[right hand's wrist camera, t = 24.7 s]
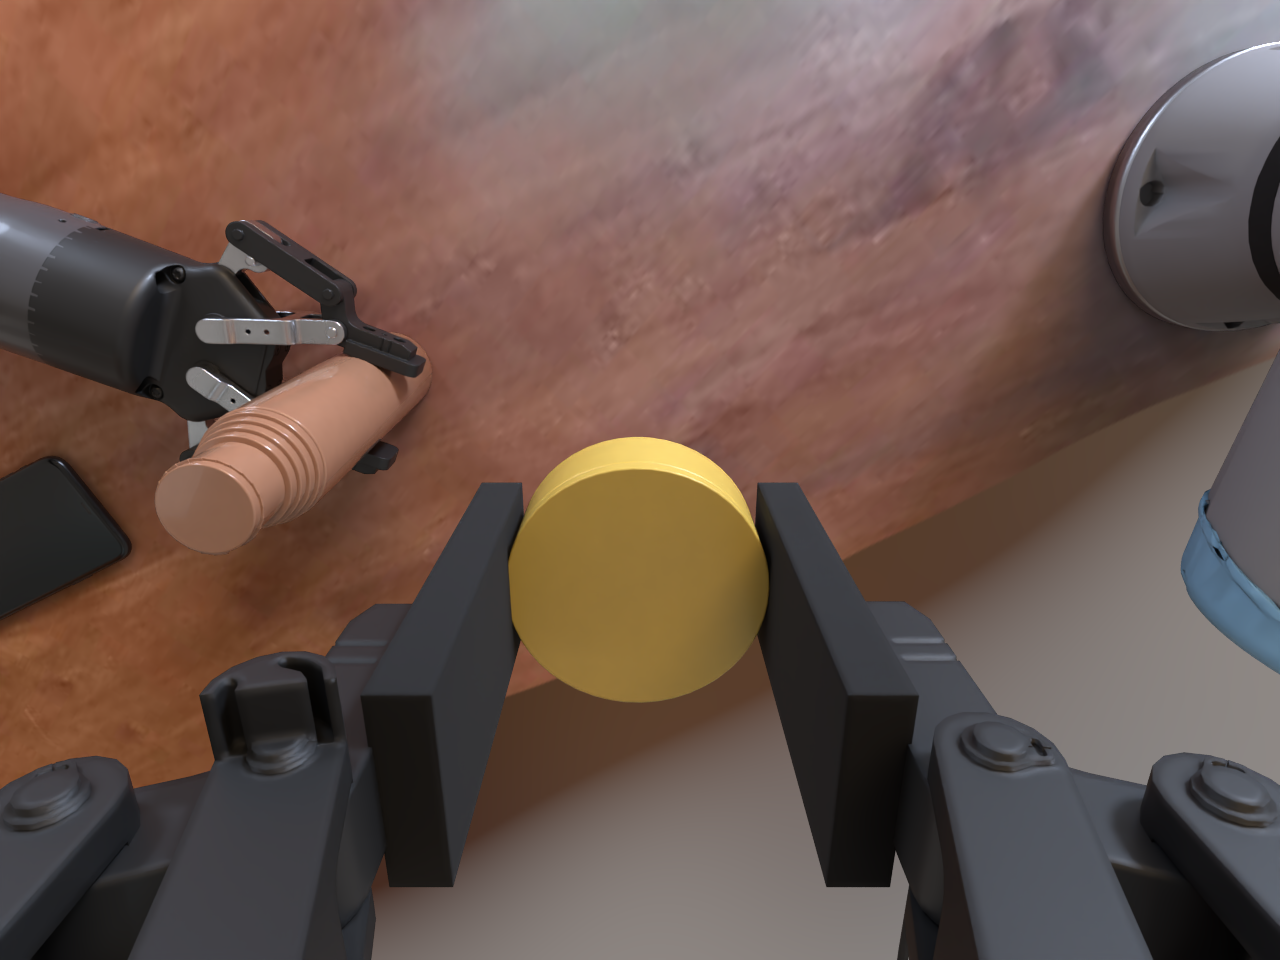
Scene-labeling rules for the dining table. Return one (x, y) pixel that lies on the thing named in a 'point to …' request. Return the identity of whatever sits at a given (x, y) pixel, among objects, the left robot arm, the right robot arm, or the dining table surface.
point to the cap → (637, 571)
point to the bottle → (283, 451)
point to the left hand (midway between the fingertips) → (405, 414)
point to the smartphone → (51, 534)
